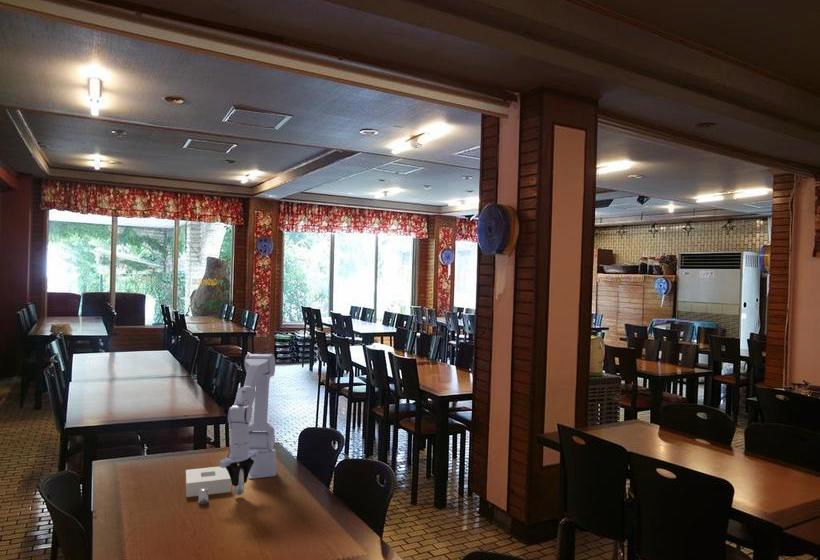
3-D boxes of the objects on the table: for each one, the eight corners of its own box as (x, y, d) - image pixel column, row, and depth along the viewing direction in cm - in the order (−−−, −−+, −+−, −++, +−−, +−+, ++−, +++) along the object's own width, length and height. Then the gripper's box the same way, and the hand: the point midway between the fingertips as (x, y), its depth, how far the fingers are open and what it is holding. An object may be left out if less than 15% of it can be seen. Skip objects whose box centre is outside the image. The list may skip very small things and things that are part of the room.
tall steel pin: (243, 490, 193) (243, 466, 192) (244, 494, 190) (244, 469, 190) (234, 492, 191) (234, 467, 191) (234, 495, 189) (235, 470, 189)
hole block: (227, 478, 208) (227, 465, 208) (231, 491, 195) (231, 478, 195) (185, 482, 203) (185, 469, 203) (186, 497, 190) (186, 483, 190)
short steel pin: (208, 499, 188) (208, 487, 188) (208, 503, 186) (208, 490, 186) (198, 501, 187) (198, 488, 187) (198, 504, 185) (198, 491, 185)
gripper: (248, 435, 199) (247, 475, 199) (213, 445, 186) (212, 487, 187) (263, 438, 195) (262, 479, 195) (228, 449, 183) (227, 492, 183)
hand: (239, 483), depth 191 cm, fingers closed on tall steel pin, 3 cm apart
